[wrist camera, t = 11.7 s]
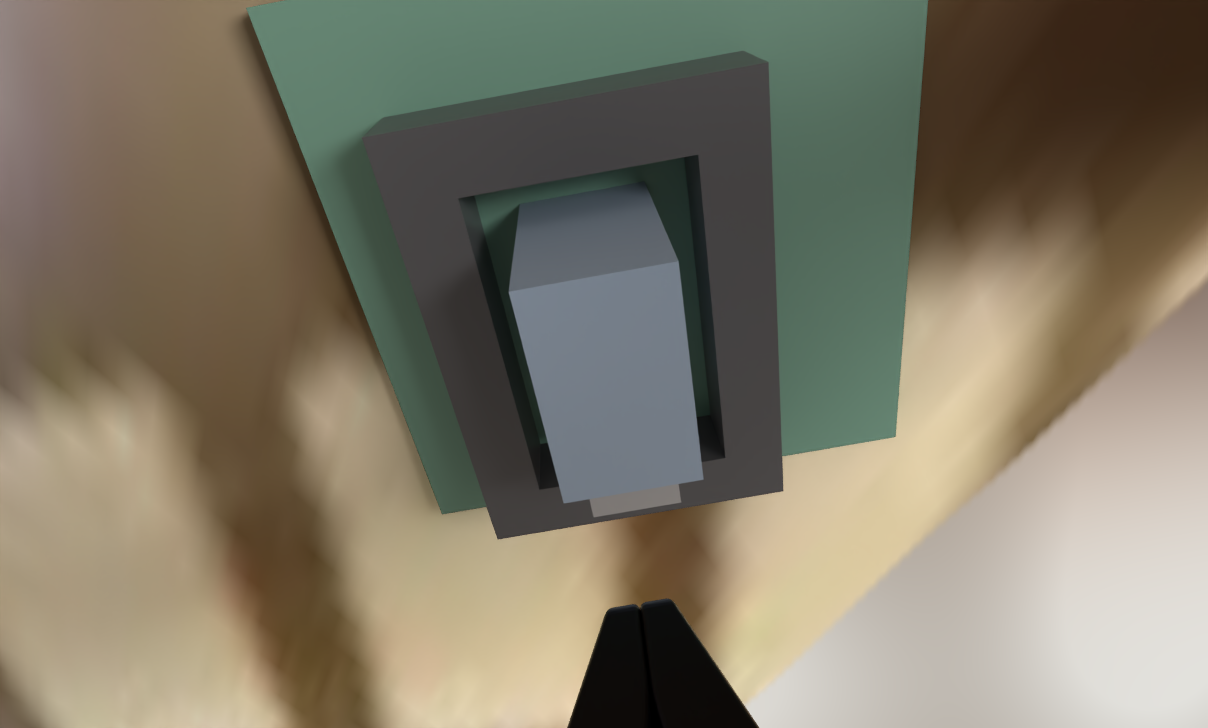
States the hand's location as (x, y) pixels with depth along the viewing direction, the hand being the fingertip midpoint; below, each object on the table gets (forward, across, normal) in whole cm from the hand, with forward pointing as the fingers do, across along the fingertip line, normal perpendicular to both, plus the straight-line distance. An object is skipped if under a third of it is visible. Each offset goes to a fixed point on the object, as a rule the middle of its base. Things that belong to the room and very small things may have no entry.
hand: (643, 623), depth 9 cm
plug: (+10, 0, 0) cm, 10 cm away
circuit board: (+11, -1, 0) cm, 11 cm away
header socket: (+11, 0, 0) cm, 11 cm away
